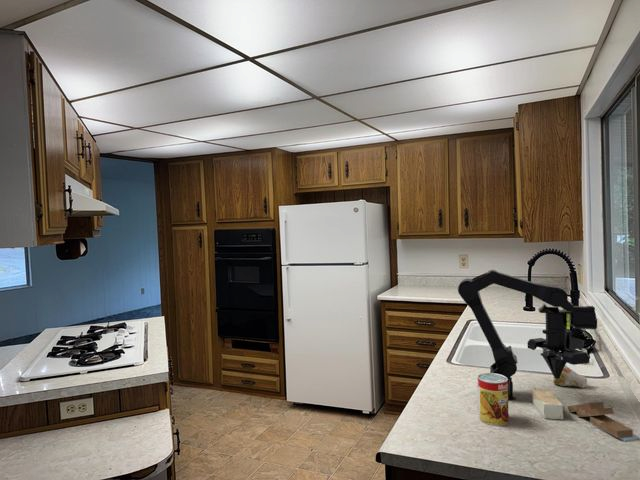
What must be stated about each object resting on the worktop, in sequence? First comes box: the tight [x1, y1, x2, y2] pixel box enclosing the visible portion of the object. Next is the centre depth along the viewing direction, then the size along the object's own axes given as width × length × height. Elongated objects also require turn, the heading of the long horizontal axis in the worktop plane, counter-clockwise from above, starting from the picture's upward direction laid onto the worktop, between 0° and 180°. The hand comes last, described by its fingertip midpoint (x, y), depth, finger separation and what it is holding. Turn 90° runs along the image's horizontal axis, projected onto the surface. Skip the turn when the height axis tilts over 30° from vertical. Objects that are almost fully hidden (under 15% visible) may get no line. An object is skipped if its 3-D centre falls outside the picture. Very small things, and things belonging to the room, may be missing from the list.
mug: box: [552, 365, 588, 389], centre depth 145 cm, size 8×10×10 cm
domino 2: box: [575, 406, 615, 418], centre depth 119 cm, size 2×4×9 cm
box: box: [532, 389, 564, 420], centre depth 126 cm, size 5×4×11 cm
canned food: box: [477, 372, 510, 427], centre depth 122 cm, size 8×8×12 cm
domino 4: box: [593, 424, 640, 442], centre depth 113 cm, size 2×4×9 cm
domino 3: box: [589, 415, 634, 439], centre depth 114 cm, size 2×4×9 cm
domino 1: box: [567, 401, 606, 412], centre depth 122 cm, size 2×4×9 cm
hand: (557, 378), depth 132 cm, fingers closed
